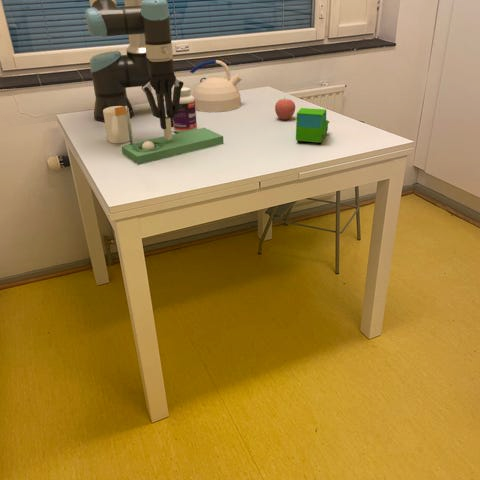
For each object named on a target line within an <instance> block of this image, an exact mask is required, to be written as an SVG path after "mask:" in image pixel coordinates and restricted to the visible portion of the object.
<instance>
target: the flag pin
mask: <svg viewBox="0 0 480 480" xmlns="http://www.w3.org/2000/svg"><path fill="white" fill-rule="evenodd" d="M114 109H115V115H116V116H121V115H126V119H127V126H128V132H129V139H130V141H129V144H130V145H133V143H134V141H133V139H132V136H133V134H132V135H131V129H132V127H131V128H130V122H131V120H130V121H129V114H128V107H127V106H123V107H117V108H114Z"/></svg>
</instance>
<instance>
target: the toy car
mask: <svg viewBox="0 0 480 480" xmlns="http://www.w3.org/2000/svg"><path fill="white" fill-rule="evenodd" d="M295 124H296V127H295V141H297V142H298V143H301V142H308V143H309V142H311V143H317V144H318V145H320V144H321V145H322V144H323V140H324V138H326V137H327V133H328V131H329V124H330V121H329V119H327V109H323V108H322V109H321V108H311V107H310V108H307V107H300V109H299V110H298V111H297V112H296V123H295Z"/></svg>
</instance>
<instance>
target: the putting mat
mask: <svg viewBox="0 0 480 480" xmlns="http://www.w3.org/2000/svg"><path fill="white" fill-rule="evenodd" d="M146 141H151V142H152V143H153V144H154V145H155V148H154V149H150V150H142V145H143V143H144V142H146ZM223 144H224V135H222V134H219V133H218V132H215V131H213V130H211V129H210V128H206V127H199V128H197V129H195V130H191V131H186V132H182V133H178V132H176V133H172V139H170V140H168V139H166V138H164V136H160V137H159V136H158V137H155V138H150V139H146V140H142V141H137V142H133V145H130V143H127V144H123V145H121V152H122V154H123V155H124V156H125V157H126V158H128V159H129V160H131V161H132V162H134V163H135V164H137V165H142V164H147V163H151V162H154V161H158V160H162V159H167V158H171V157H175V156H179V155H183V154H187V153H191V152H195V151H199V150H203V149H207V148H211V147H214V146H219V145H223Z"/></svg>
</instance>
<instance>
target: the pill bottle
mask: <svg viewBox="0 0 480 480" xmlns="http://www.w3.org/2000/svg"><path fill="white" fill-rule="evenodd" d="M171 97H172V101H173V96H171ZM196 111H197V110H196V109H195V98H194V97H193V95H192V94H191V88H190V87H185V86H183V87H182V89H181V95H180V103H179V111H178V114H177V115H174V118H173V124H174V126H173V129H174V131H175V132H176V133H182V132H186V131H191V130H195V129H198V126H197V124H198V123H197V114H196V113H197V112H196Z"/></svg>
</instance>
